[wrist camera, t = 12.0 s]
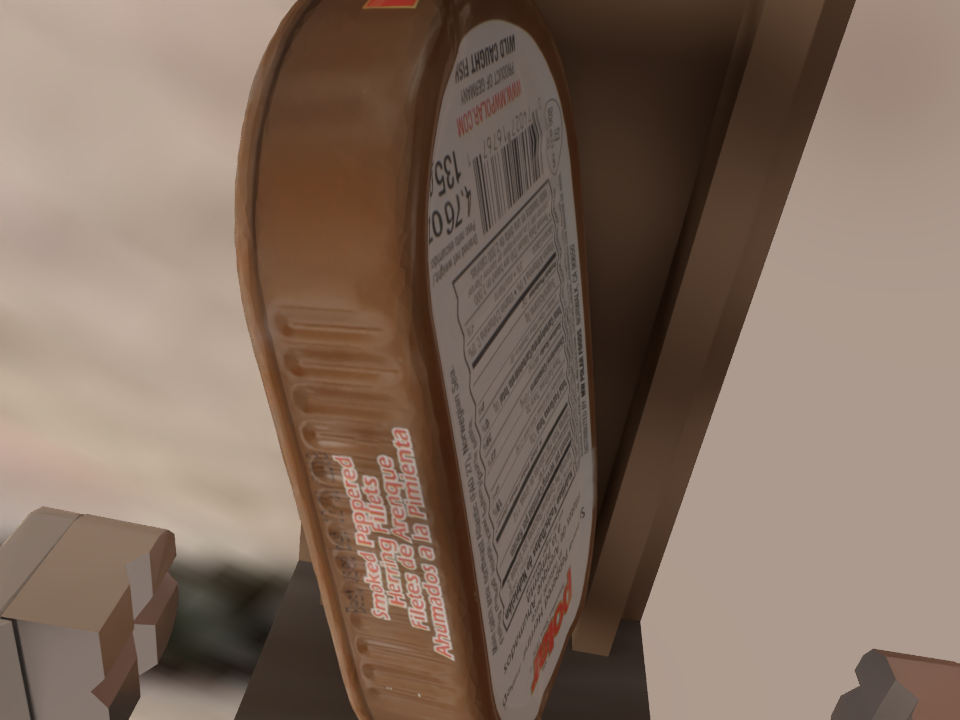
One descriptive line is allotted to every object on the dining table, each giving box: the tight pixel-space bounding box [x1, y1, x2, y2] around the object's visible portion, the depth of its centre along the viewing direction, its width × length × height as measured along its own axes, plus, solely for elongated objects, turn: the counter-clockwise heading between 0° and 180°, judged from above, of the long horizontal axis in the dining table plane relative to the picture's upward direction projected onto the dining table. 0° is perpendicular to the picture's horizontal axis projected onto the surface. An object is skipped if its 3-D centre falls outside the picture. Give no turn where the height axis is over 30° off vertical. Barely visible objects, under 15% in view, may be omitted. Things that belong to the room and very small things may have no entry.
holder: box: [234, 0, 856, 720], centre depth 16 cm, size 24×10×11 cm, turn 171°
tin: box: [235, 0, 598, 720], centre depth 16 cm, size 15×3×8 cm, turn 7°
